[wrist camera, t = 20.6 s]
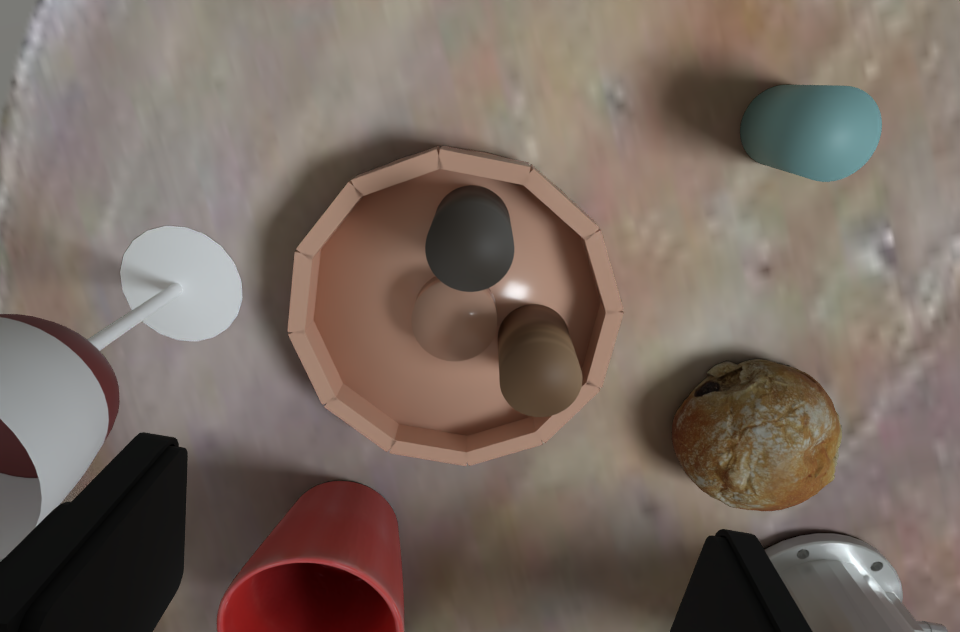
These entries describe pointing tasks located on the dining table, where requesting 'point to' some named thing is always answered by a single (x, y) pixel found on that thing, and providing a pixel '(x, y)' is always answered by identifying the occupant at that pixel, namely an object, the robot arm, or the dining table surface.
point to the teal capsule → (812, 130)
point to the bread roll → (758, 435)
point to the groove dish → (443, 307)
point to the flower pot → (323, 568)
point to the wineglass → (95, 369)
